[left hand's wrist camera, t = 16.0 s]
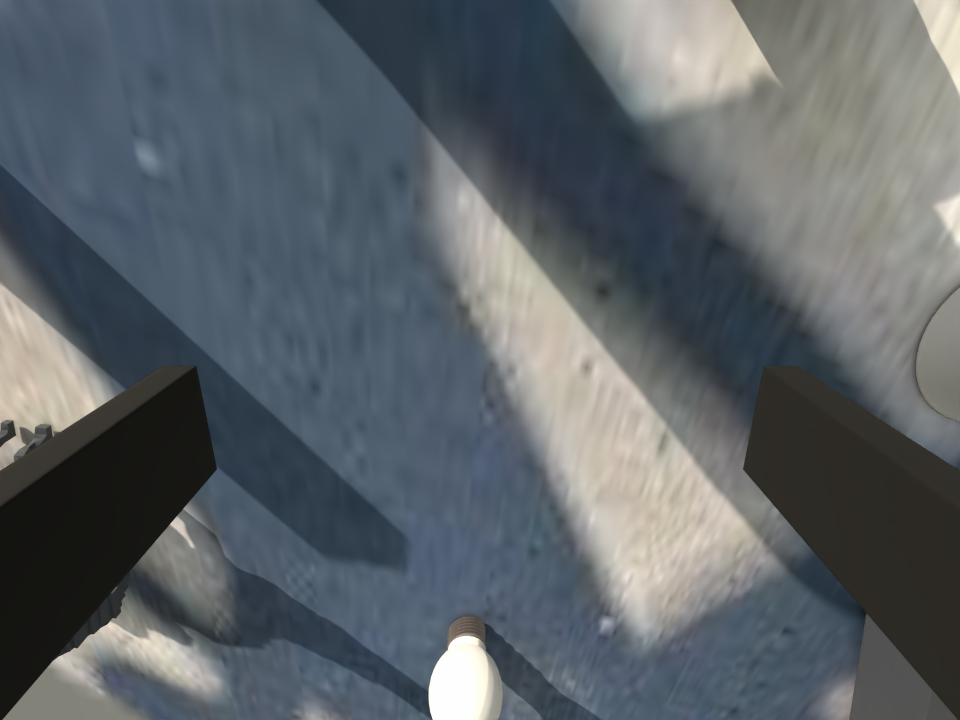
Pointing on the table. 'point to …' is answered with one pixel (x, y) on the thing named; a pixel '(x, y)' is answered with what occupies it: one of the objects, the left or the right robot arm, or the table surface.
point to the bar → (891, 684)
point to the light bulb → (466, 676)
